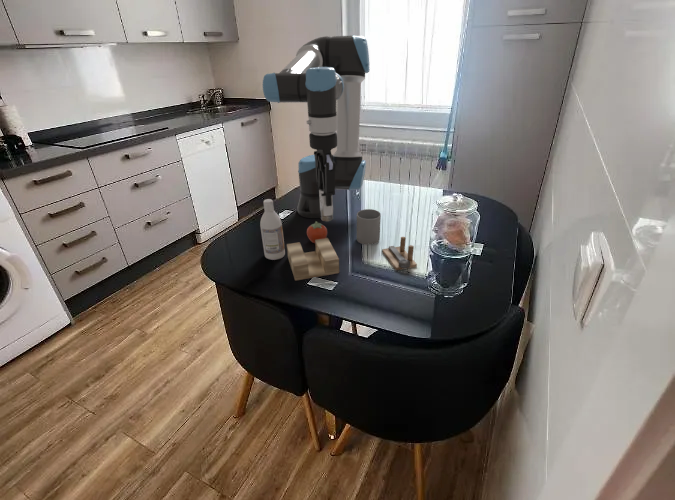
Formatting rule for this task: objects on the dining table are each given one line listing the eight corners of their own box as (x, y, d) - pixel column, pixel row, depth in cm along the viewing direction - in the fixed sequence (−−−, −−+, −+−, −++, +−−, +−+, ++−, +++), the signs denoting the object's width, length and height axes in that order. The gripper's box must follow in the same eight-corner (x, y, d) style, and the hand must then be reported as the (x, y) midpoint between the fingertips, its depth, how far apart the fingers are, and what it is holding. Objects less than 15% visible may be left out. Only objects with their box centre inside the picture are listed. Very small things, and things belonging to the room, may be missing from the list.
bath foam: (288, 257, 122) (282, 202, 112) (268, 262, 119) (260, 206, 109) (281, 248, 127) (275, 194, 117) (262, 252, 125) (254, 198, 114)
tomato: (331, 238, 132) (330, 218, 128) (322, 248, 127) (321, 227, 123) (313, 235, 135) (312, 215, 131) (303, 244, 129) (301, 224, 125)
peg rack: (382, 251, 123) (382, 236, 120) (401, 248, 125) (402, 233, 122) (397, 272, 113) (398, 255, 110) (418, 268, 114) (419, 252, 111)
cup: (378, 245, 127) (379, 220, 122) (355, 243, 129) (355, 218, 124) (380, 234, 134) (381, 209, 129) (358, 232, 136) (358, 208, 131)
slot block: (288, 257, 122) (286, 244, 119) (328, 251, 125) (327, 237, 122) (295, 280, 110) (293, 266, 107) (339, 272, 113) (338, 258, 110)
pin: (319, 217, 111) (318, 189, 106) (330, 215, 111) (329, 187, 107) (322, 222, 108) (321, 193, 103) (334, 220, 108) (333, 192, 104)
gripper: (302, 127, 102) (307, 204, 114) (317, 140, 89) (321, 225, 101) (328, 124, 104) (330, 200, 116) (346, 137, 91) (347, 221, 103)
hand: (326, 212), depth 108 cm, fingers closed on pin, 3 cm apart
